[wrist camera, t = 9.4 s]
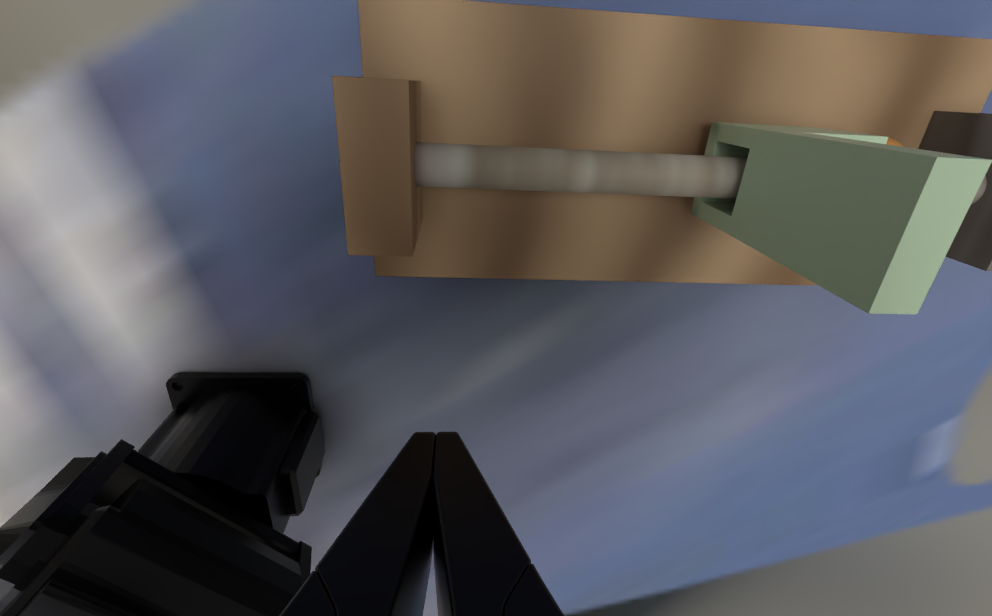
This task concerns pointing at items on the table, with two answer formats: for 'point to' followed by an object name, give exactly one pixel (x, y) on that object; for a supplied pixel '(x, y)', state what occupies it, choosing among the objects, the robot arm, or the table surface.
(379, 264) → the linear slide rail
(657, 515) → the table surface
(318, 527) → the table surface
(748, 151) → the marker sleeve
